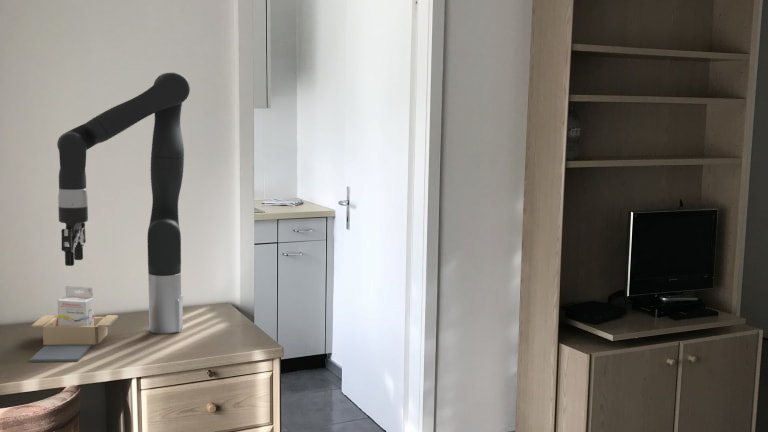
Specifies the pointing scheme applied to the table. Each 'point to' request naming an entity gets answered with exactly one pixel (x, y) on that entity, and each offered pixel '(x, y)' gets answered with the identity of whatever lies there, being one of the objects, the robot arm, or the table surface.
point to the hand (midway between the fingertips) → (74, 262)
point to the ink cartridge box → (76, 307)
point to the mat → (60, 353)
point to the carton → (74, 331)
